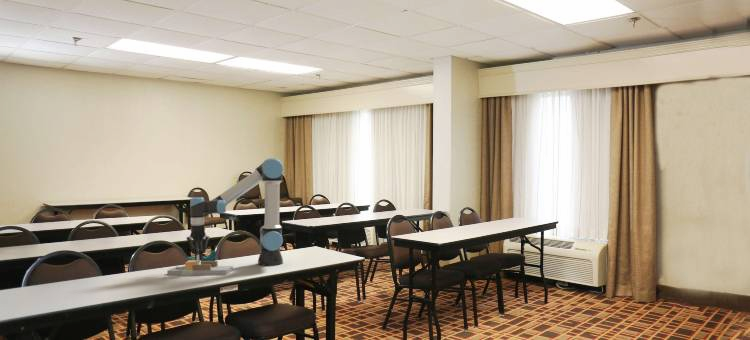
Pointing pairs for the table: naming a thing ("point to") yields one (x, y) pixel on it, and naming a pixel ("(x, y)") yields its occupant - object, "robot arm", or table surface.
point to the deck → (201, 269)
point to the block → (190, 264)
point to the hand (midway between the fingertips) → (198, 265)
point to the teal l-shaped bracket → (208, 258)
